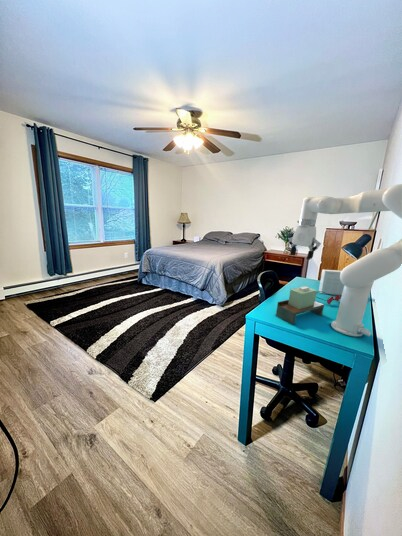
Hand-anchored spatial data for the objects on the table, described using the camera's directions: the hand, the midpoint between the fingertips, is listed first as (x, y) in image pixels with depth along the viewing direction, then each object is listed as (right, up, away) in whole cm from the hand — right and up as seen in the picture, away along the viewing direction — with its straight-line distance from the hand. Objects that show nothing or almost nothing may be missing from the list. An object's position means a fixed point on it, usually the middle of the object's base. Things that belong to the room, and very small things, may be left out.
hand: (300, 256), depth 113 cm
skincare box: (+40, -24, +35) cm, 58 cm away
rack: (-1, -30, -1) cm, 30 cm away
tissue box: (-1, -25, -2) cm, 25 cm away
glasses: (+24, -26, +24) cm, 42 cm away
